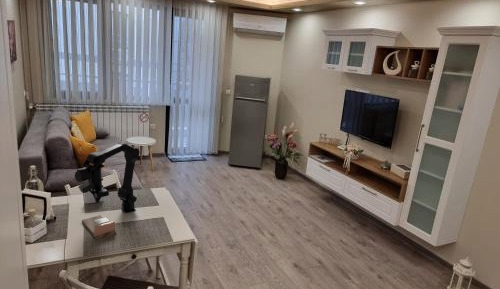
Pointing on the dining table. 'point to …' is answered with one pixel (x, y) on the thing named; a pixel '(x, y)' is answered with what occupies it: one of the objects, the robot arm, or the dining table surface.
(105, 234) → the brown boxy piece
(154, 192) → the dining table surface
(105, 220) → the pale sage green cube
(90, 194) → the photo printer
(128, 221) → the dining table surface
